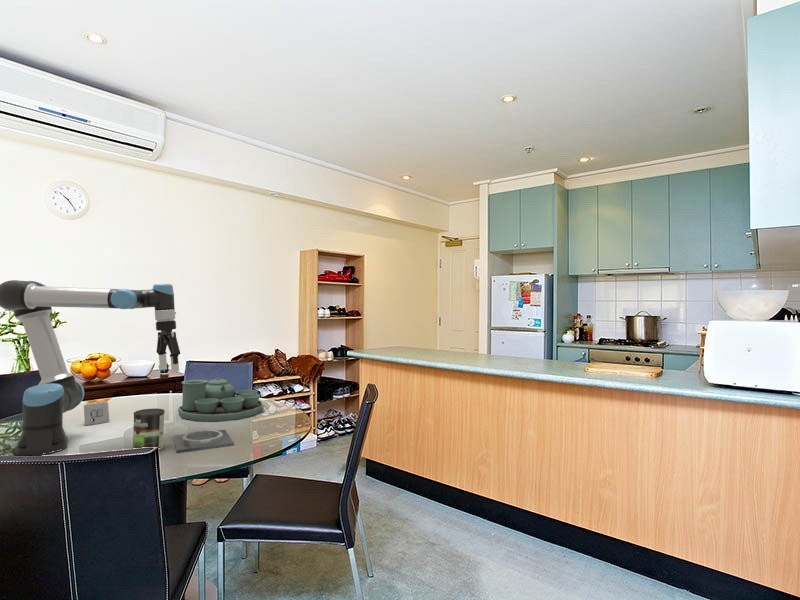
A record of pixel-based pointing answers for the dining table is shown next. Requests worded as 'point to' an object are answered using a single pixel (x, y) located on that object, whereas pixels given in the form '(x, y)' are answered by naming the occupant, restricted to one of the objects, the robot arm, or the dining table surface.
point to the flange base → (202, 440)
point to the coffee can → (148, 428)
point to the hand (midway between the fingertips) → (169, 370)
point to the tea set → (217, 401)
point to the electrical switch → (96, 413)
